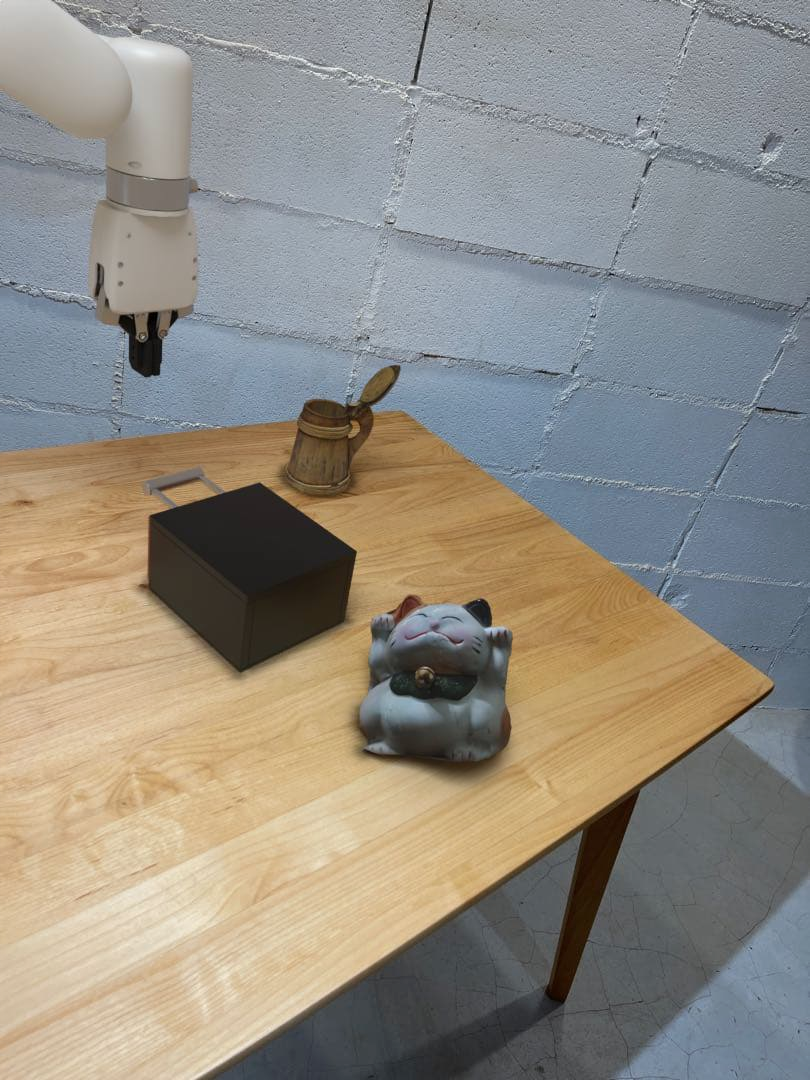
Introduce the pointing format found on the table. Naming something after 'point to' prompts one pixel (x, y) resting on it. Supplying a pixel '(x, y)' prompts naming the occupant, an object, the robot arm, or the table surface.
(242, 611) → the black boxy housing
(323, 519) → the table surface
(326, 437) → the wooden mug
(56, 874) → the table surface
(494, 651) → the lucky cat figurine
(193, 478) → the drawer
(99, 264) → the robot arm
